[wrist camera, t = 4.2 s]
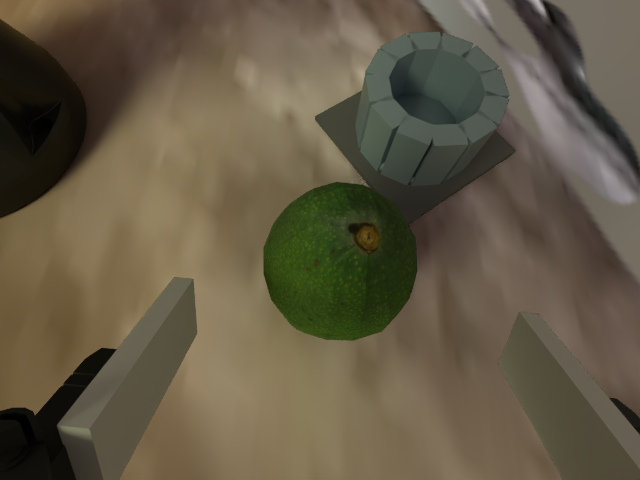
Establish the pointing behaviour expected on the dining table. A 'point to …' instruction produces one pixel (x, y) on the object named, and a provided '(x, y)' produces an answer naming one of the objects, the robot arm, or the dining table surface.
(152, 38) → the dining table surface
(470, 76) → the bowl
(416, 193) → the placemat
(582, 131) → the dining table surface
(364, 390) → the dining table surface
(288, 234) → the avocado
